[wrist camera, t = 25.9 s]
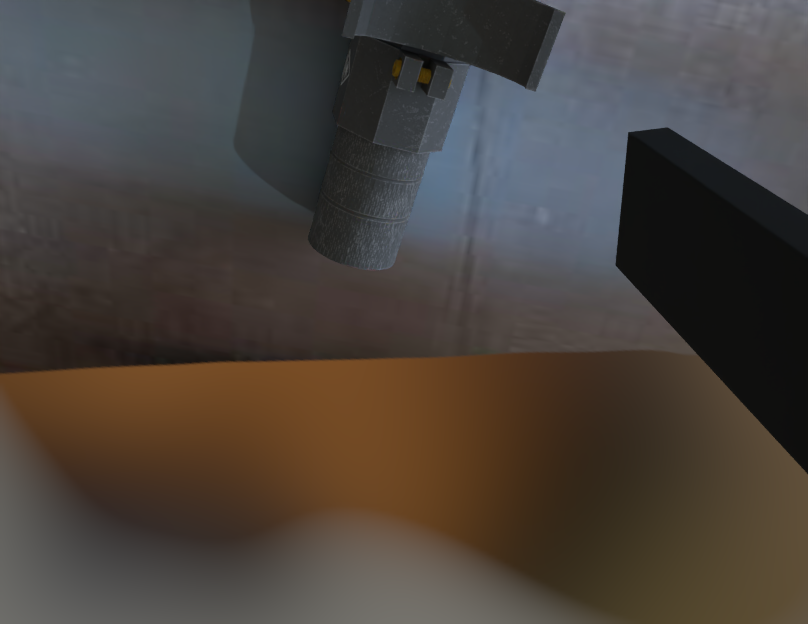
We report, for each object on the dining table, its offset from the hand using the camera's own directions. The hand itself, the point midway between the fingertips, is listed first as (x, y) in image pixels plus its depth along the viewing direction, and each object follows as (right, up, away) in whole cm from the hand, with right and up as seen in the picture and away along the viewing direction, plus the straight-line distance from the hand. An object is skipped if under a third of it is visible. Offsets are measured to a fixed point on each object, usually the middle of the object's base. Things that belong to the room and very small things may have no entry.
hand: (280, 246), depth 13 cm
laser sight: (+2, +14, +31) cm, 34 cm away
